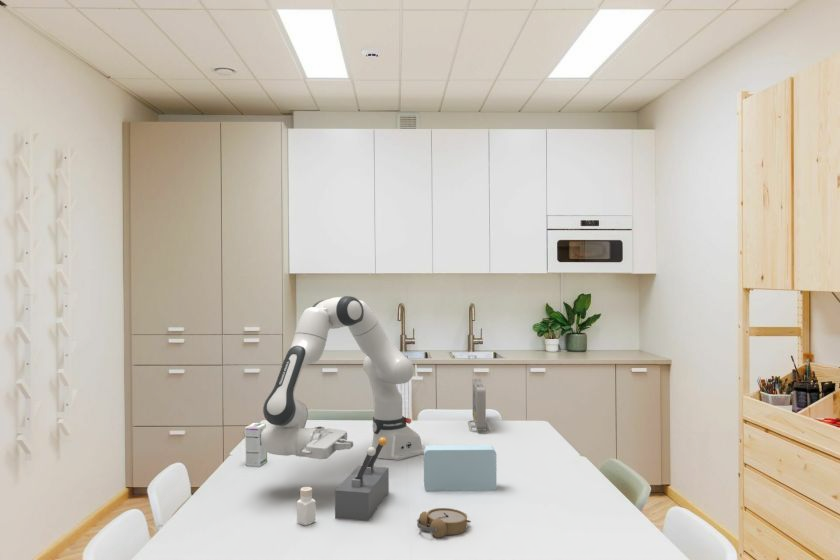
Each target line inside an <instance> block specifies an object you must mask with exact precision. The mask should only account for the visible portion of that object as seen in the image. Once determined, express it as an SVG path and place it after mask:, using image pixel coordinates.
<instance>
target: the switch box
mask: <svg viewBox="0 0 840 560" xmlns="http://www.w3.org/2000/svg"><path fill="white" fill-rule="evenodd" d="M374 465H375V464H374ZM374 465H373V467H372V468H371V467H367V468H366V471H365V473H364V475H363V477H362V479H361V481H360V479H356V477H357V475H358V473H359V471H360V469H361V466H362V465H358V466H357V467H355V469H354V470H353V471H352V472H351V473H350V474H349V475H347V477H346V478H345V479H344V480H343V481H342V482H341V483H340V484H339V485H338V487H337V488H336V489H335V490H334V506H335V507H334V519H343V520H353V521H354V520H355V521H364V522H369V521H370V520H371V518H372V517H373V515H374V514H375V512H376V511H377V510H378V508H379V507H380V505H381V504H382V502H383V501H384V500H385V498H386V497H387V496H388V495H389V492H390V488H389V487H390V485H389V484H390V483H389V479H390V478H389V477H390V476H389V475H390V474H389V472H390V471H389V467H386V466H384V467H383V466H374Z"/></svg>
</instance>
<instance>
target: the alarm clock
mask: <svg viewBox="0 0 840 560" xmlns="http://www.w3.org/2000/svg"><path fill="white" fill-rule="evenodd" d="M416 522H417V525H416V526H417V528H418V529H419V530H422V531H424V532H425V531H426V532H431V535H433V537H436V538H442V537H444V536H446V535H458V534H459V533H460V534H462V533H464V532H466V530H467V528H466V526H468V525H467V523H472V521H471V520H469V519H468V516H467V514H466V513H465V512H464V511H461V510H458V509H454V508H450V507H439V508H432V509H430V510H428V511H422V512H421V513H420V514H419V517H418V519H416ZM465 529H466V530H465ZM463 531H464V532H463ZM461 532H462V533H461ZM460 534H459V535H460Z"/></svg>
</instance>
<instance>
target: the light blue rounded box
mask: <svg viewBox="0 0 840 560" xmlns="http://www.w3.org/2000/svg"><path fill="white" fill-rule="evenodd" d="M423 483H424V484H423V488H424V490H425V491H427V492H474V491H475V492H479V491H480V492H485V491H486V492H489V491H490V492H491V491H495V490H496V489H497V452H496V450H495V448H494V446H493V445H490V444H481V445H480V444H476V445H475V444H472V445H470V444H468V445H466V444H465V445H463V444H462V445H461V444H460V445H459V444H457V445H455V444H453V445H450V444H449V445H426V446H425V448H424V454H423Z"/></svg>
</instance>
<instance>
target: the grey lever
mask: <svg viewBox="0 0 840 560" xmlns="http://www.w3.org/2000/svg"><path fill="white" fill-rule="evenodd" d="M375 453H376V450H375V448H374V447H372V446H369V447H368V448H367V450H366V455H365V458H364V460H363V462H362V464H361V465H360V466H361V469H360V471H359V473H358V475H357V477H356V479H360V481H361V479H362V477H363V475H364V473H365V471H366V468H367V466H368V464H369V462H370V460H371V458H372V456H373V455H375Z"/></svg>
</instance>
